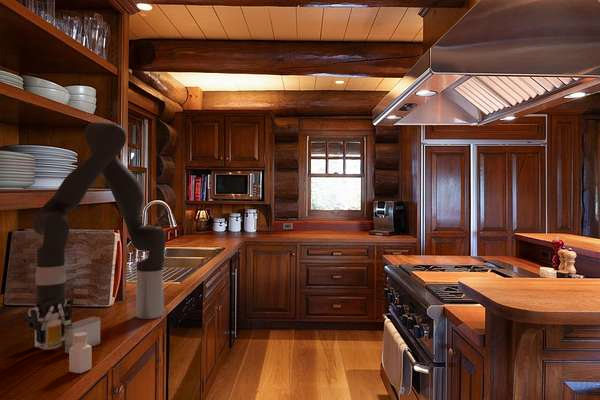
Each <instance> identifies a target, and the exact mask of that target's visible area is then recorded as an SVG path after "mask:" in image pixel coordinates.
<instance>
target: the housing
mask: <svg viewBox="0 0 600 400" xmlns="http://www.w3.org/2000/svg"><path fill="white" fill-rule="evenodd" d="M66 316H67V315H66ZM42 319H43V317H42ZM80 332H86V333H87V345H90V346H91V347H95V346H98V345H99V344H101V317H98V316H90V317H87V318H84V319H81V320H77V321H74V322H72V319H70V320H67V321H66V323H65V333H64V336H63V337H61V342H64V353H65V354H69V349H70V348H71V347H73V346H74V334H76V333H80ZM36 337H37V336H36V330H34V347H35V348H39V349H41V348H40V343H38V342H37V340H36Z"/></svg>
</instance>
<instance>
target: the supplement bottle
mask: <svg viewBox="0 0 600 400" xmlns="http://www.w3.org/2000/svg"><path fill="white" fill-rule="evenodd" d="M58 317H59V312H57V313H53V314H51V316H50V319H49V322H47V324H46V327H45V329H44V330H45V343H43V344H40V348H39V349H41V350H53V349H57V348H59V347H61V346H62V341H61V320H60V319H58ZM42 318H43V319H44V318H45V317H42ZM41 324H42V323H41Z"/></svg>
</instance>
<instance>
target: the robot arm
mask: <svg viewBox="0 0 600 400" xmlns="http://www.w3.org/2000/svg"><path fill="white" fill-rule="evenodd" d="M84 140H85V143H86V145H87V147H88V149H89V151H90V152H91V155H90V156H89V157H88V158H87V159H85V160H84V161H83V162H82V163H81V164H80V165H78V166H77V167H75V169H73V170H72V171H71V172H70V173H68V175H66V177H65V178H64V179H63V181H62V182H61V184H60V185H59V187H58V188H57V189H56V191H55V193H54V194H53V196H51V198H50V199H49V200H48V201H46V202H45V203H44V204H43V206H42V207H40V208H39V210H38V211H37V213H36V214H35V215H34V218H33V220H32V228H33V230H34V231H35V233H37V234H38V235H41V236H43V238H42V239H43V241H42V245H40V246H38V248H37V250H36V269H35V270H36V272H35V298H36V301H37V302H36V305H35V307H33V308H27V309H26V311H25V313H26V318H27V323H28V328H29V330H34V331H35V330H36V336H37V337H36V340H37V342H38V343H40V344H43V343H45V330H44V329H45V327H46V324H47V322H49V319H50V316H51V314H53V313H57V312H59V317H58V319H60V320H61V337H63V336H64V333H65V323H66V321H67V320H70V319H71V318H72V313H73V307H74V300H73V299H70V298H69V299H68V298H65V296H66V289H67V288H66V267H65V261H66V260H65V259H66V257H65V256H66V255H65V249H66V246H67V243H68V238H69V235H70V222H69V218H68V217H67V216H66V215H67V214H68V213H69V212H71V211H73V210H75V209H77V207H78V206H79V205H80V203H81V202H82V200H83V198H84V197H85V195H86V193H87V192H88V191H89V189H90V187H91V186H92V185H93V183H94V182H95V181H96V179H97V178H98V177H99V176H100V175H101V174H103V176H104V178H105V180H106V182H107V184H108V187H109V189H110V191H111V194H112V196H113V198H114V199H113V200H115V203H116V205H117V207H118V208H119V211H120V214H121V216H122V218H123V222H124V223H125V226H126V230H127V232H128V236H129V238H130V242H131V243H132V244H131V245H132V246H133V248H134V249H136V251H141V252H148V257H146V259H142V260H140V261H138V262H137V263H136V299H135V301H136V309H135V310H136V311H135V312H136V318H137V319H141V320H152V319H153V320H154V319H159V318H160V317H162V316H163V314H165V288H164V285H163V284H164V282H163V281H164V277H163V276H164V271H163V268H164V262H165V255H166V254H165V252H166V251H165V250H166V233H165V230H164V228H163V227H161V226H151V225H149V226H148V225H144V223H143V221H142V219H141V215H140V214H141V210H142V207H143V205H144V204H143V203H144V197H145V196H144V193H143V189H142V188H141V184H140V183H139V180H138V178H137V176H135V174H134V173H133V172H132V171H131V170H130V169H129V168H128V167H127V166H126V165H125V164H124V163H123V162H122V161H121V160H120V158H119V156H118V154H120V152H121V151H122V149H123V148H124V147H125V145H126V142H127V134H126V131H125V129H124V128H123V127H122V126H121V125H120V124H116V123H110V122H100V121H99V122H97V121H95V122H92V123H89V124H88V125H87V126H86V128H85V131H84ZM66 315H67V316H66ZM43 317H45V318H44V319H42V318H43ZM71 320H72V319H71ZM41 323H42V324H41Z"/></svg>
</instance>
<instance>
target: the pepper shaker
mask: <svg viewBox="0 0 600 400" xmlns="http://www.w3.org/2000/svg"><path fill="white" fill-rule="evenodd" d="M92 347H93V346H92ZM92 347H91V346H90V345H87V333H86V332H80V333H76V334H74V346H73V347H71V348H70V349H69V353H68V355H69V356H68V366H69V367H68V370H69V372H70V373H74V374H79V373H80V374H83V373H85V372H87V371H89V370H91V369H92V350H93V349H92Z"/></svg>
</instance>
